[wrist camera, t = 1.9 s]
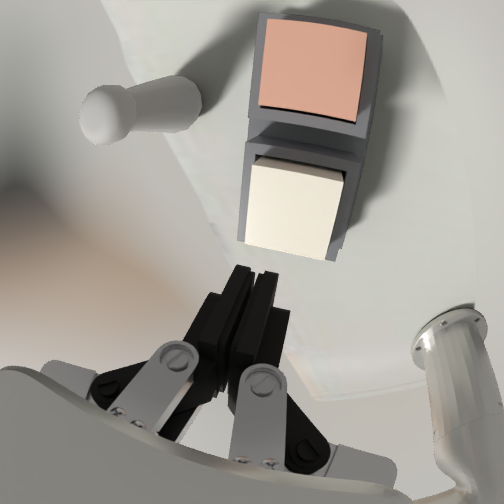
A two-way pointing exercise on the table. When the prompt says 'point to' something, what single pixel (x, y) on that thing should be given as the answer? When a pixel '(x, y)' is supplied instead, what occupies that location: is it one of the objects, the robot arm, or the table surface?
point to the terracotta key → (312, 68)
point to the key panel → (312, 130)
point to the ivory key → (292, 206)
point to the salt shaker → (139, 109)
